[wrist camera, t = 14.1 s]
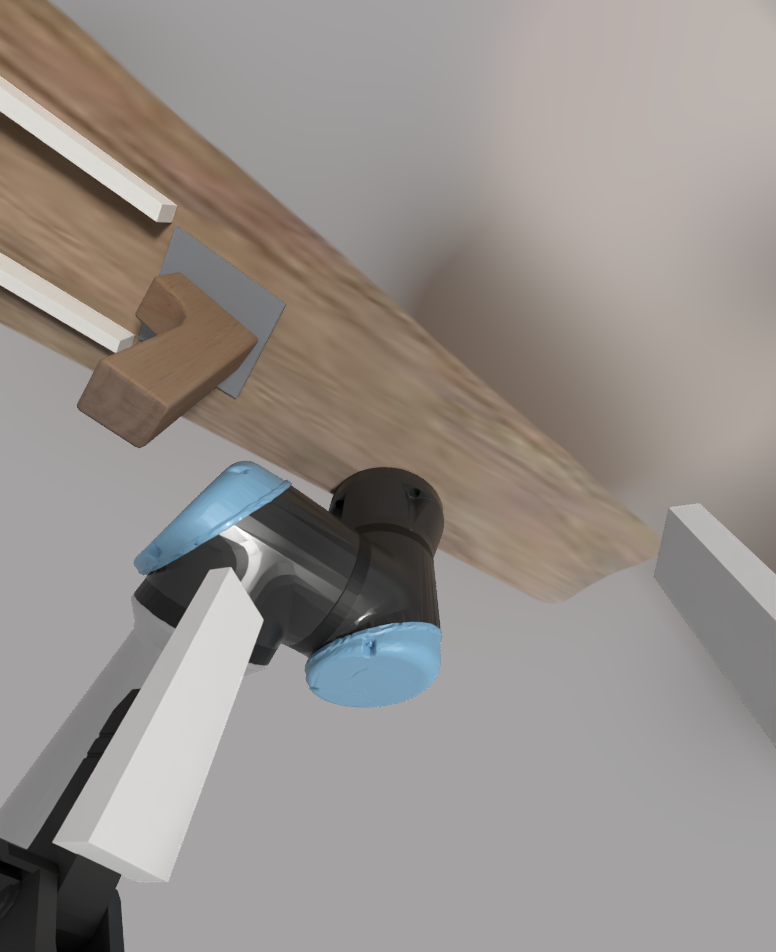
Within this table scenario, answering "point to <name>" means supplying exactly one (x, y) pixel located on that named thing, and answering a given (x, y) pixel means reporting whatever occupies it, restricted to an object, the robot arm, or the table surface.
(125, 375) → the wooden block
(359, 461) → the table surface
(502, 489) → the table surface
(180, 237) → the pad
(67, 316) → the white u-shaped bracket
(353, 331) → the table surface
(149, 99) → the table surface
